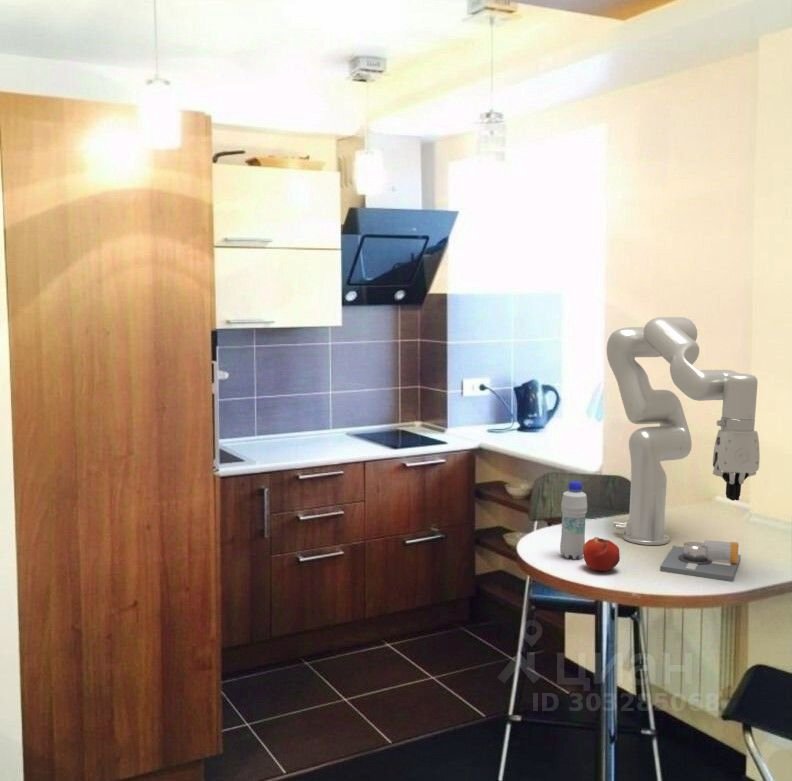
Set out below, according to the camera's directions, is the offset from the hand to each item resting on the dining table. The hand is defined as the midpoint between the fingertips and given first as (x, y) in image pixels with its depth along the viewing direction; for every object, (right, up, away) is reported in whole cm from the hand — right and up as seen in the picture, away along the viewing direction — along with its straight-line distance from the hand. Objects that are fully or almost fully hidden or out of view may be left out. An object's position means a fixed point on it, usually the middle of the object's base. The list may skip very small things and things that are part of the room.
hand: (732, 498), depth 224 cm
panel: (-5, -18, +9) cm, 21 cm away
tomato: (-31, -18, +4) cm, 37 cm away
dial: (-2, -17, +9) cm, 19 cm away
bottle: (-36, -17, +15) cm, 43 cm away
